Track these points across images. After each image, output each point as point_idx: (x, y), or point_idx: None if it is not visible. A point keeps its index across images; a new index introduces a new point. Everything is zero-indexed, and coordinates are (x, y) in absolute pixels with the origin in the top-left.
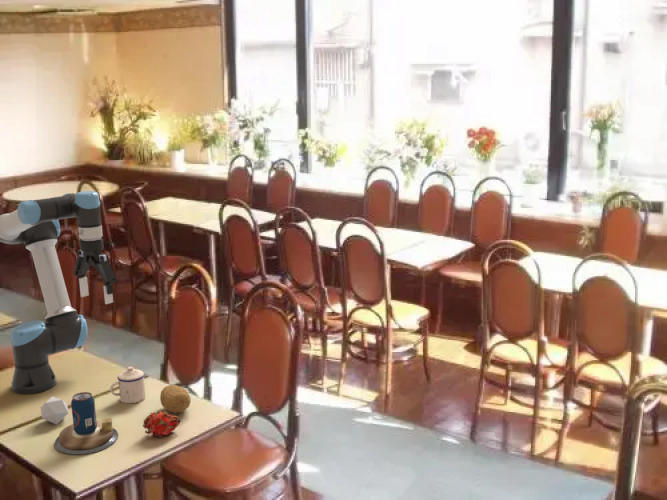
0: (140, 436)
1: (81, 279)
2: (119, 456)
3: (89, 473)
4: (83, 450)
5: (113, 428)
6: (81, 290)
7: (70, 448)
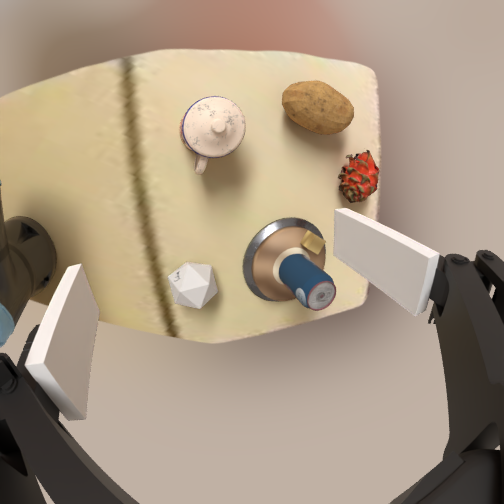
0: (332, 199)
1: (79, 403)
2: None
3: (350, 285)
4: None
5: (290, 219)
6: (93, 341)
7: None
